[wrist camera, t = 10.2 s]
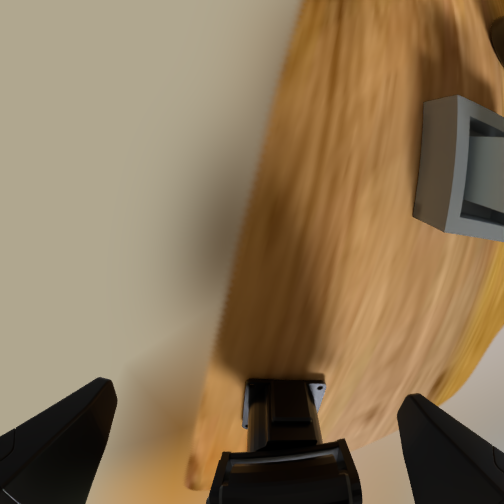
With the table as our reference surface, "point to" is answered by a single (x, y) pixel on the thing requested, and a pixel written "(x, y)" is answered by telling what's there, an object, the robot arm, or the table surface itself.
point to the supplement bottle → (498, 37)
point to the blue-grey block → (485, 172)
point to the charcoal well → (454, 168)
